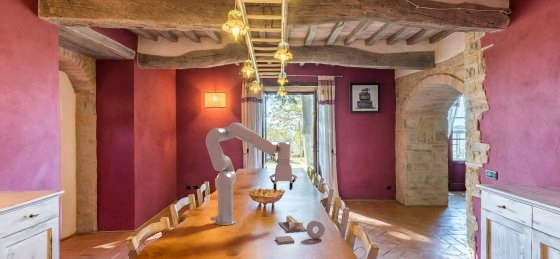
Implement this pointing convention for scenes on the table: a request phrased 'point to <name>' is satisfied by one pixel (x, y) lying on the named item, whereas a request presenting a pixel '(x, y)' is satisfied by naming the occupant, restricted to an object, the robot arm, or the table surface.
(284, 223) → the mat
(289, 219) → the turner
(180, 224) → the table surface
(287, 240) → the tile
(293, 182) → the robot arm
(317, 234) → the donut
